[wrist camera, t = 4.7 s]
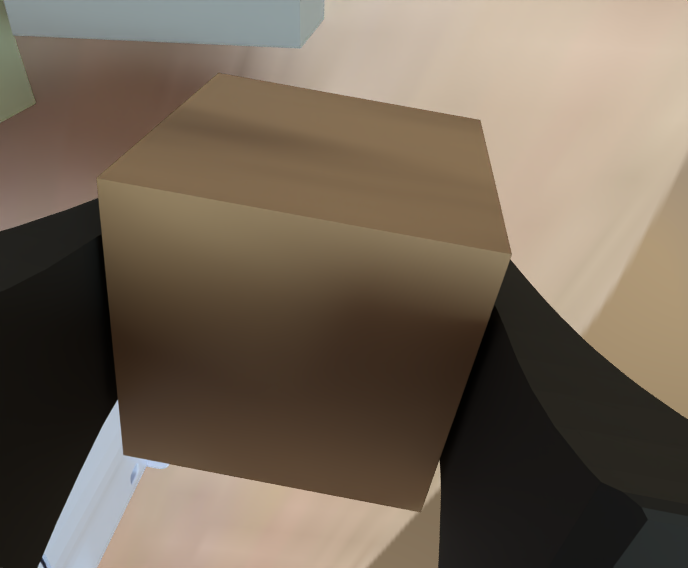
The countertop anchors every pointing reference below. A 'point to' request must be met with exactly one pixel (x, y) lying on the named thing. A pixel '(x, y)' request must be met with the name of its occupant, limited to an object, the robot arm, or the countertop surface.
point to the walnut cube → (300, 286)
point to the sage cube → (12, 73)
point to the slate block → (171, 20)
